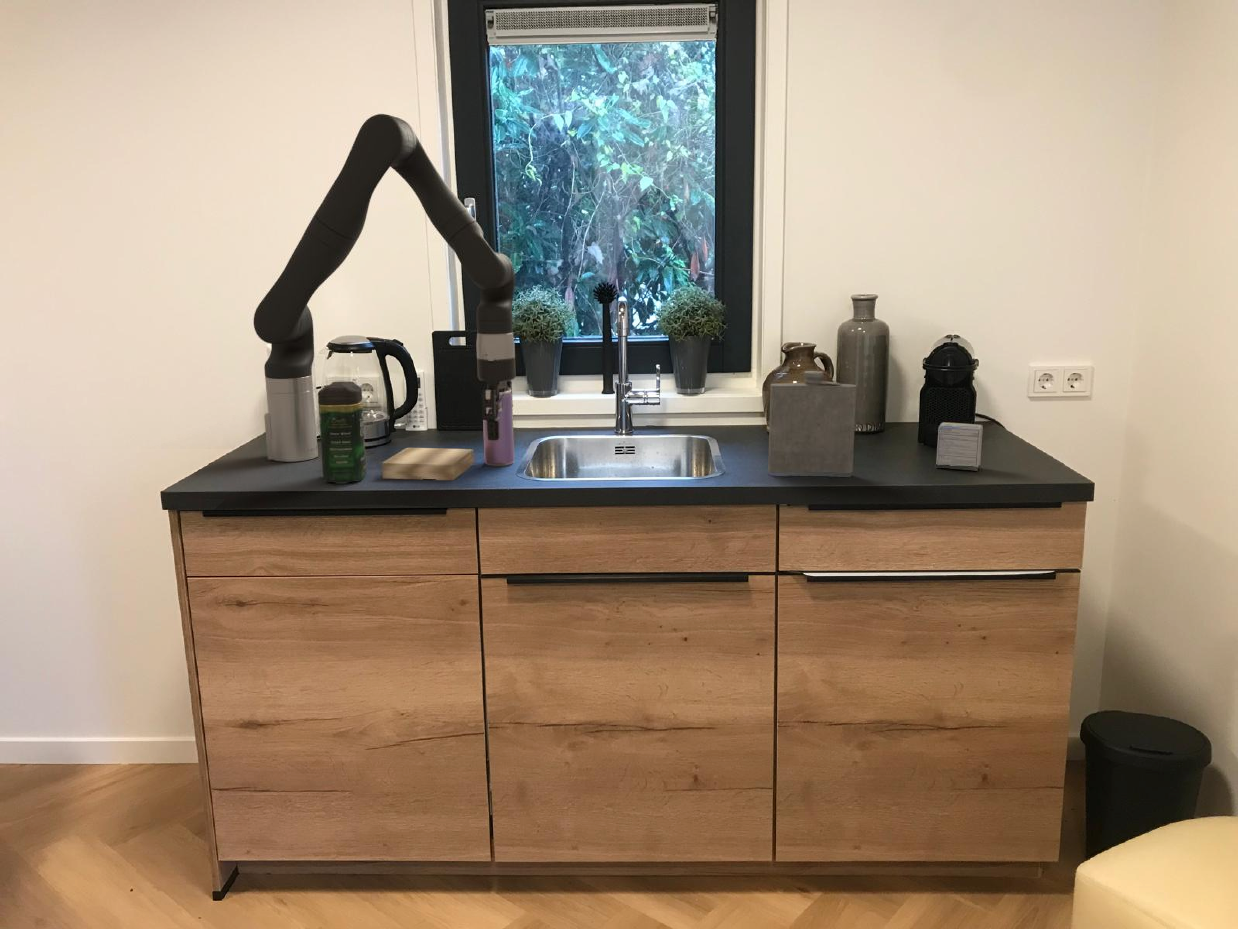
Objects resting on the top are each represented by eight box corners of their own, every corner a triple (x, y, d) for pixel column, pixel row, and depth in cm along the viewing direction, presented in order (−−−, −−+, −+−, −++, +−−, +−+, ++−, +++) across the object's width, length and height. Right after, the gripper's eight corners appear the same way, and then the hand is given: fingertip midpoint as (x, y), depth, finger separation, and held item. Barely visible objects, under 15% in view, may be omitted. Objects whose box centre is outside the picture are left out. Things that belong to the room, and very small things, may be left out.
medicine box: (980, 467, 201) (983, 424, 199) (977, 472, 197) (981, 428, 195) (938, 464, 204) (941, 421, 202) (935, 468, 200) (938, 425, 198)
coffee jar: (363, 484, 191) (356, 385, 187) (320, 485, 190) (312, 386, 186) (370, 472, 200) (364, 378, 196) (329, 473, 199) (322, 379, 195)
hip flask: (768, 476, 195) (771, 372, 190) (767, 471, 199) (770, 369, 194) (853, 478, 193) (858, 373, 188) (850, 473, 197) (855, 370, 192)
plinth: (382, 478, 195) (381, 462, 194) (408, 461, 208) (407, 447, 208) (453, 480, 193) (452, 465, 192) (474, 463, 206) (473, 449, 206)
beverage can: (509, 467, 203) (506, 393, 200) (480, 466, 204) (477, 392, 201) (517, 460, 209) (515, 388, 206) (490, 459, 210) (487, 387, 207)
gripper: (487, 351, 209) (490, 428, 213) (467, 360, 195) (471, 442, 199) (522, 351, 208) (525, 429, 212) (505, 360, 194) (508, 443, 198)
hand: (499, 435), depth 205 cm, fingers open, 8 cm apart
